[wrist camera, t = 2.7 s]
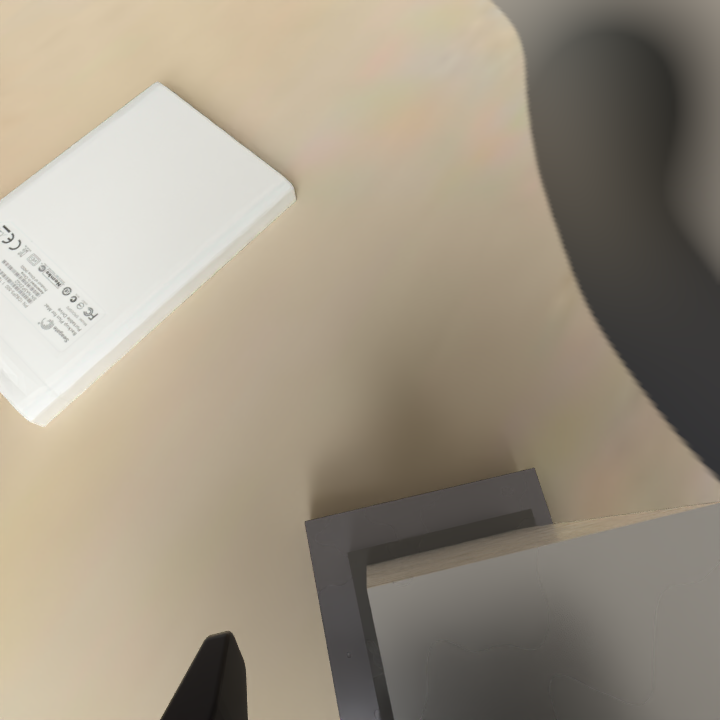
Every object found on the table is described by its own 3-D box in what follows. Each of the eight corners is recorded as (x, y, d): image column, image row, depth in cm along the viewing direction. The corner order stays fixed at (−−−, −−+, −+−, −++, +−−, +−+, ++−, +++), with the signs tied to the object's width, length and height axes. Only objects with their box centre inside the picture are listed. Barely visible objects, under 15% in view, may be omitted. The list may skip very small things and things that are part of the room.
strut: (569, 701, 14) (1029, 1046, 4) (389, 748, 13) (447, 1239, 4) (510, 513, 15) (746, 455, 6) (349, 552, 15) (320, 556, 5)
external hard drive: (299, 209, 21) (52, 432, 18) (167, 107, 23) (-75, 293, 20) (294, 182, 20) (23, 421, 17) (154, 76, 22) (-112, 272, 19)
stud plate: (600, 721, 15) (625, 739, 13) (357, 786, 14) (357, 812, 13) (520, 474, 17) (534, 467, 16) (309, 523, 17) (304, 521, 15)
